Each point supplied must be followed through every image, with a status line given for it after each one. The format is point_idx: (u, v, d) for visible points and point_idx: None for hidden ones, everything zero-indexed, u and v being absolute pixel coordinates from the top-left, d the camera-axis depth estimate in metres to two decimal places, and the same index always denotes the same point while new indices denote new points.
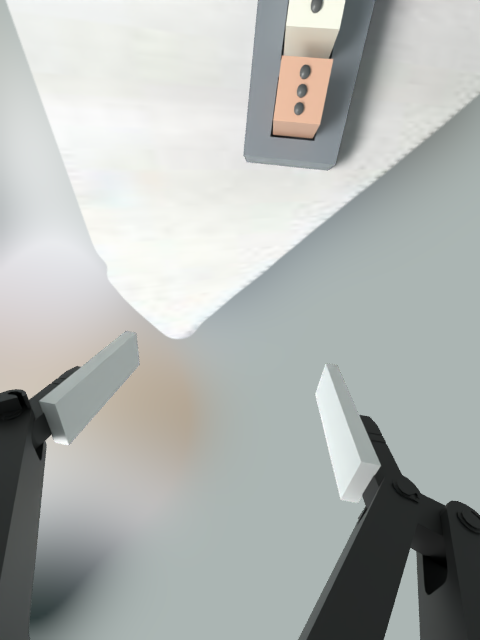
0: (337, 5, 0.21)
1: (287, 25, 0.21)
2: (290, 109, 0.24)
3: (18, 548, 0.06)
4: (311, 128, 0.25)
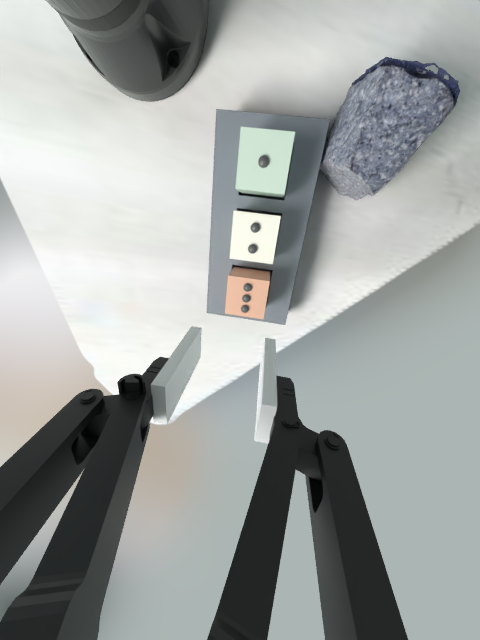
0: (269, 250, 0.25)
1: (230, 258, 0.26)
2: (238, 308, 0.29)
3: (110, 528, 0.07)
4: None
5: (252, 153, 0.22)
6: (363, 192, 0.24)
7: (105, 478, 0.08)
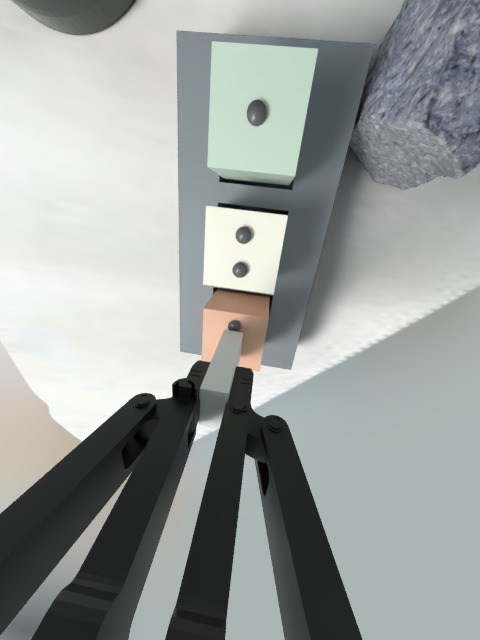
0: (267, 273, 0.15)
1: (205, 284, 0.16)
2: None
3: (150, 536, 0.07)
4: None
5: (235, 97, 0.12)
6: (429, 174, 0.14)
7: (151, 483, 0.08)
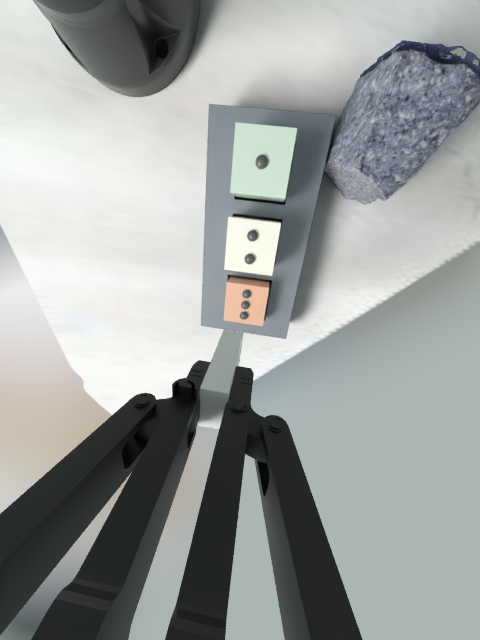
0: (268, 261, 0.23)
1: (225, 269, 0.23)
2: (236, 315, 0.28)
3: (150, 536, 0.07)
4: None
5: (248, 152, 0.19)
6: (373, 196, 0.22)
7: (151, 483, 0.08)
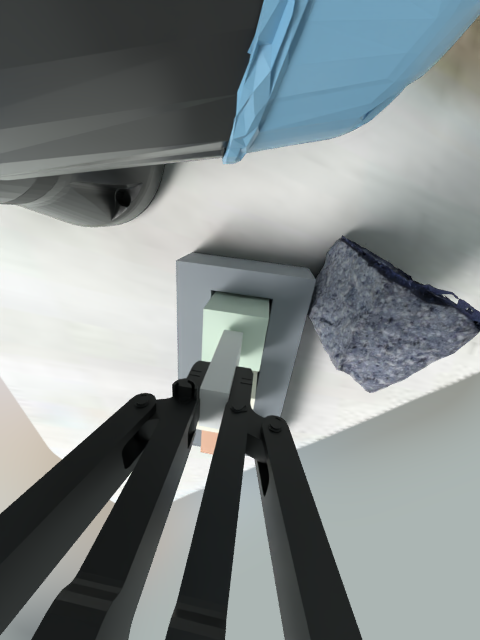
0: None
1: (197, 428, 0.21)
2: None
3: (150, 536, 0.07)
4: None
5: (219, 333, 0.18)
6: None
7: (151, 483, 0.08)
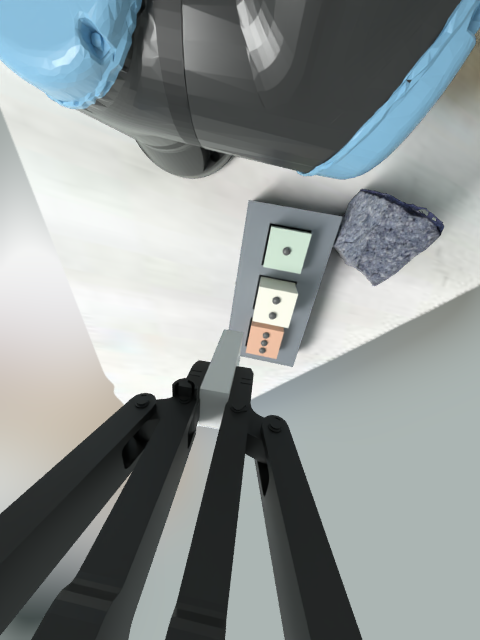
0: (286, 318, 0.30)
1: None
2: (256, 349, 0.36)
3: (150, 536, 0.07)
4: None
5: (278, 244, 0.29)
6: None
7: (151, 483, 0.08)
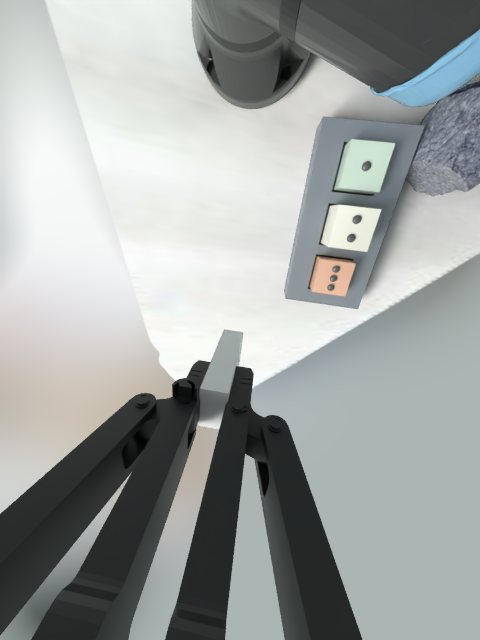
0: (366, 239, 0.29)
1: (329, 246, 0.30)
2: (324, 287, 0.34)
3: (150, 536, 0.07)
4: None
5: (357, 159, 0.27)
6: (450, 188, 0.28)
7: (151, 483, 0.08)
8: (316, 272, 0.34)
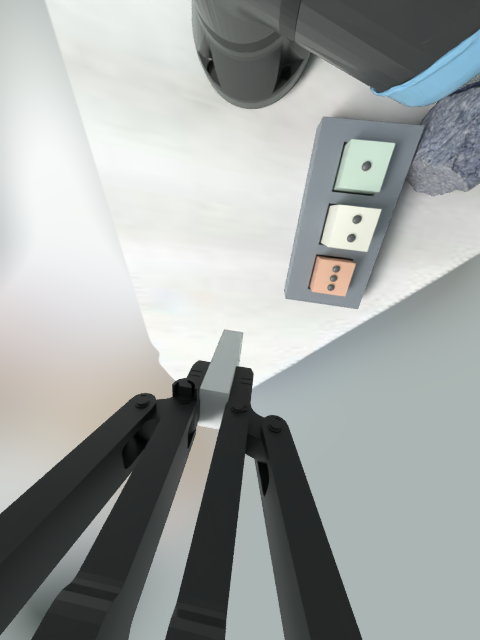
0: (366, 239, 0.29)
1: (329, 246, 0.30)
2: (324, 287, 0.34)
3: (150, 536, 0.07)
4: None
5: (357, 159, 0.27)
6: (450, 188, 0.28)
7: (151, 483, 0.08)
8: (316, 272, 0.34)
